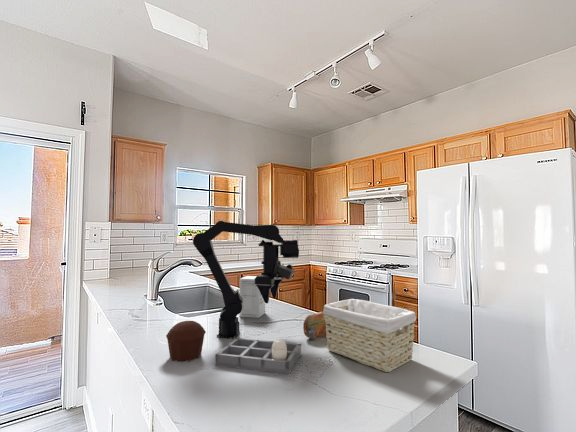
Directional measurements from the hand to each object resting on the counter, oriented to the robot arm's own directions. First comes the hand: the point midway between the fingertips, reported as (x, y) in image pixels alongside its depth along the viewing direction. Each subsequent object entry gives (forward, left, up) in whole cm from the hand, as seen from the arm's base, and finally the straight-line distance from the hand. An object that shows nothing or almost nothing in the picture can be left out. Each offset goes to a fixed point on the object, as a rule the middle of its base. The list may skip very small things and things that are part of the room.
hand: (270, 300), depth 119 cm
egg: (+11, -27, -11) cm, 31 cm away
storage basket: (+35, -12, -12) cm, 39 cm away
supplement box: (-16, +23, -12) cm, 31 cm away
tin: (+18, +2, -12) cm, 22 cm away
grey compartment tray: (+4, -24, -12) cm, 27 cm away
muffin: (-18, -27, -12) cm, 35 cm away
